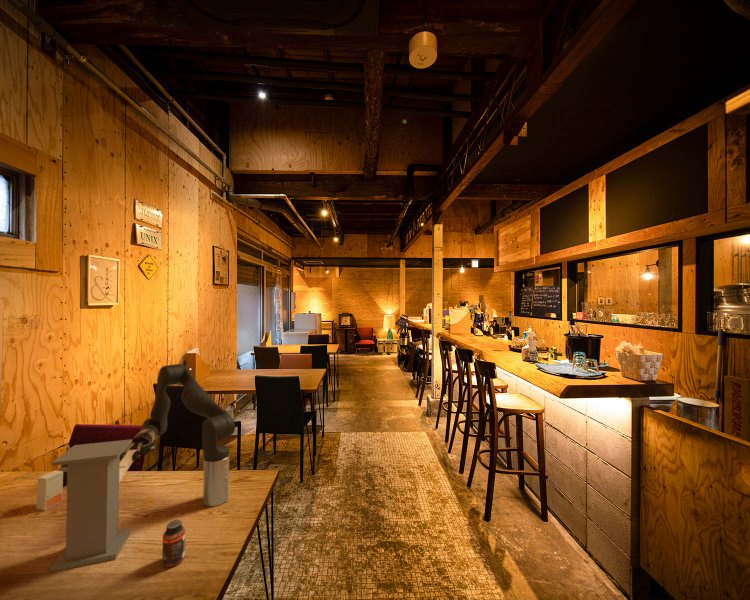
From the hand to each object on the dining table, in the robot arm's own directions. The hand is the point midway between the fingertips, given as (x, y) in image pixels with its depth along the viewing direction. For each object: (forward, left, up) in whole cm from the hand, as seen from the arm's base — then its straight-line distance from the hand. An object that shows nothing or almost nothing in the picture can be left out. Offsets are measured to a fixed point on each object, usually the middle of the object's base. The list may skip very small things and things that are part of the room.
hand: (127, 458), depth 130 cm
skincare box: (+27, -6, -17) cm, 32 cm away
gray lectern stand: (0, +27, -17) cm, 32 cm away
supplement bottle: (-25, +39, -17) cm, 50 cm away
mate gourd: (+29, -23, -17) cm, 41 cm away
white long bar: (0, +6, -3) cm, 7 cm away
